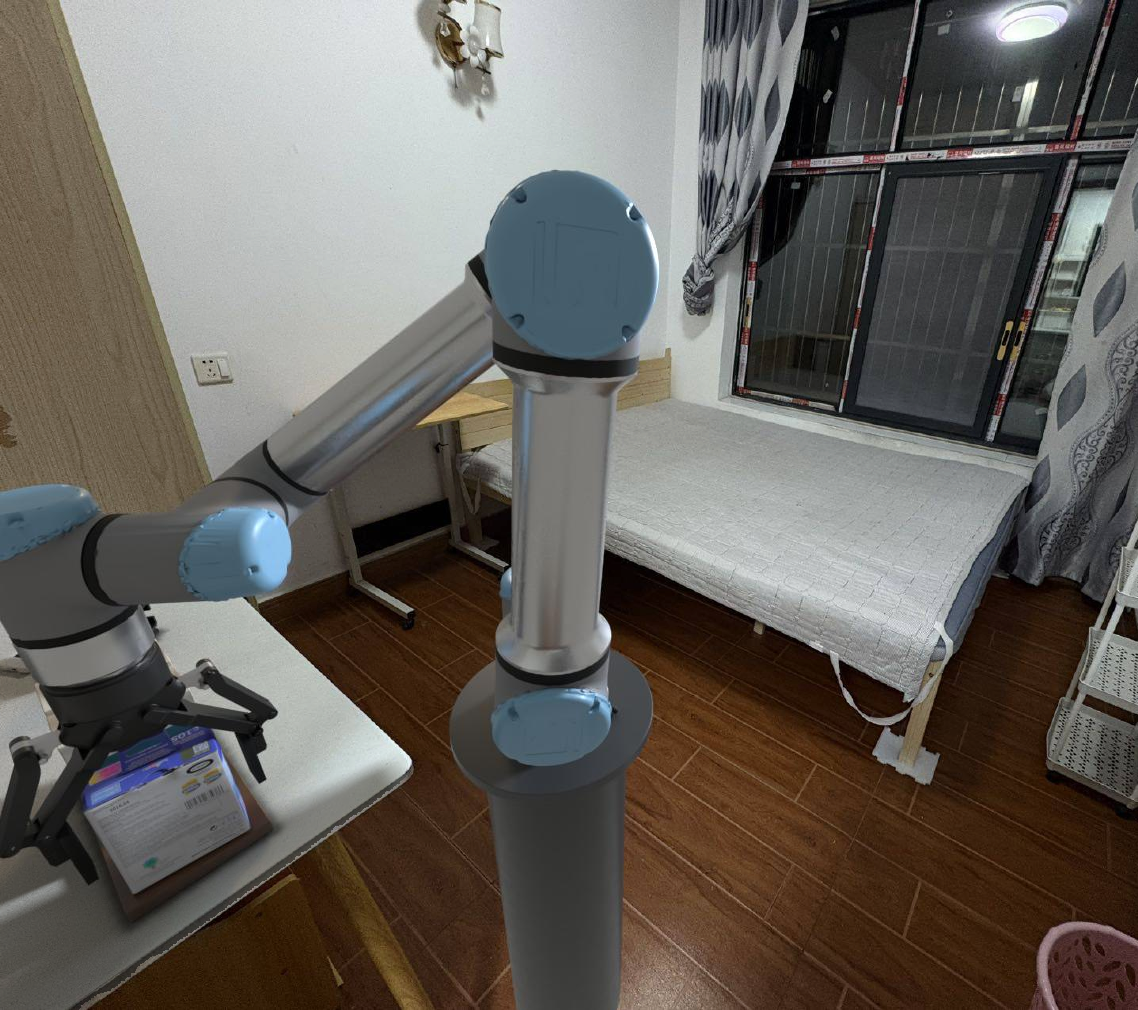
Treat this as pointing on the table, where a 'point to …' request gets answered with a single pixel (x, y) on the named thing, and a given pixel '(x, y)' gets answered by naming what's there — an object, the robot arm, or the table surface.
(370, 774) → the table surface
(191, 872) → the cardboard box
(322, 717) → the table surface
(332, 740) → the table surface
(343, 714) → the table surface
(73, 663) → the robot arm
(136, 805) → the ink cartridge box
